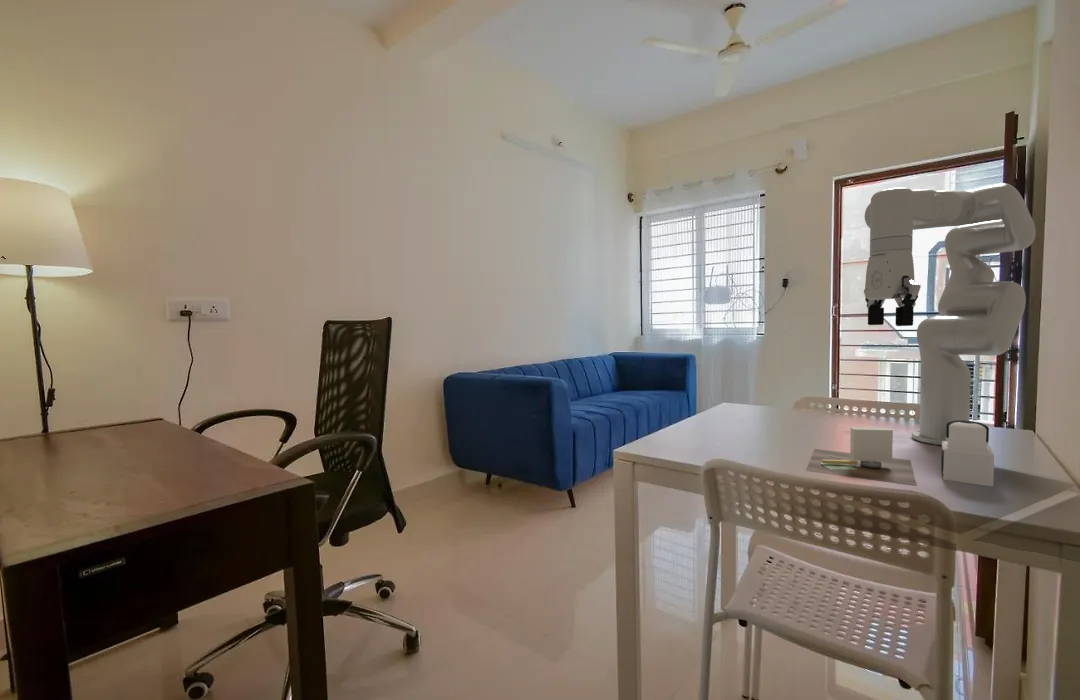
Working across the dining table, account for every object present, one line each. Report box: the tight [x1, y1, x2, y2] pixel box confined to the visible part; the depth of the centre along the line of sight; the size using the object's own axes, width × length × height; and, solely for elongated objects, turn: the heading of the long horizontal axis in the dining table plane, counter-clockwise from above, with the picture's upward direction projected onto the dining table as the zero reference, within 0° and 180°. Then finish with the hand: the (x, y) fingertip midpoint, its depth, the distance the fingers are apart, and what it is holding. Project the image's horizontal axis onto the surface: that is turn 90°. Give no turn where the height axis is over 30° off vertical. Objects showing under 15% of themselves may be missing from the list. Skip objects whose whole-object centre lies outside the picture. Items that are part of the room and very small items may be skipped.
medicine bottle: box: [940, 420, 995, 487], centre depth 90 cm, size 7×7×12 cm
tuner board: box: [805, 448, 918, 487], centre depth 100 cm, size 18×18×1 cm
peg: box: [822, 426, 894, 468], centre depth 99 cm, size 4×12×8 cm, turn 76°
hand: (889, 325), depth 105 cm, fingers open, 9 cm apart
